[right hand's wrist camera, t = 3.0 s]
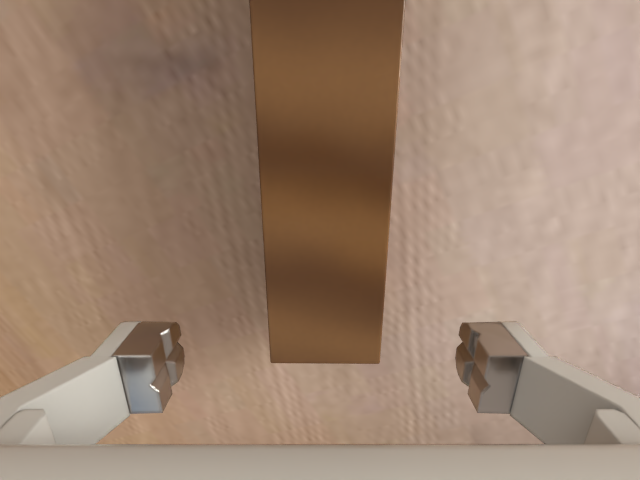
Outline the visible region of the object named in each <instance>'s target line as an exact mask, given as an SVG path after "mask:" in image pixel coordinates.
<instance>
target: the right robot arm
mask: <svg viewBox="0 0 640 480" xmlns="http://www.w3.org/2000/svg"><path fill="white" fill-rule="evenodd" d="M180 336H181V331H180V326H179V324H178V323H177V322H146V321H143V322H141V321H125V322H121V323H120V324H119V325H118V326H117V327H116V329H115V330H114V331H113V332H112V333H111V334H110V335H109V336H108V337H107V338H106V340H105V341H104V342H103V343H102V344H101V345H100V346H99V347H98V348H97V349H96V351H95V352H94V353H93V354H92V355H91V356H90V357H82V358H80V359H78V360H76V361H74V362H72V363H70V364H68V365H66V366H64V367H62V368H60V369H58V370H56V371H54V372H52V373H50V374H47V375H45V376H43V377H41V378H39V379H37V380H35V381H33V382H31V383H29V384H27V385H25V386H23V387H21V388H19V389H17V390H15V391H12V392H10V393H8V394H6V395H4V396H2V397H0V480H640V397H638V396H636V395H633V394H631V393H629V392H627V391H625V390H623V389H621V388H619V387H617V386H615V385H613V384H611V383H609V382H607V381H605V380H603V379H601V378H599V377H597V376H594V375H592V374H590V373H588V372H586V371H584V370H582V369H580V368H578V367H576V366H574V365H572V364H570V363H568V362H566V361H564V360H562V359H560V358H558V357H550V356H549V355H548V354H547V353H546V352H545V351H544V349H543V348H542V347H541V346H540V345H539V344H538V343H537V342H536V341H535V340H534V338H533V337H532V336H531V335H530V334H529V333H528V332H527V331H526V330H525V329H524V327H523V326H522V325H521V324H520V323H518V322H516V321H503V322H470V323H462V324H461V327H460V331H459V336H460V338H461V340H462V341H463V342H462V343H461V344H460V345H459V346H458V347H457V349H456V357H455V359H456V368H457V372H458V375H459V377H460V379H461V381H462V382H463V383H464V384H466V385H467V386H469V389H468V395H469V397H470V399H471V401H472V403H473V405H474V407H475V409H476V411H477V413H502V414H510V416H512V417H513V418H514V419H515V420H516V421H518V422H519V423H520V424H521V425H522V426H524V427H525V428H526V429H527V430H528V431H530V432H531V433H532V434H533V435H535V436H536V437H537V438H538V439H539V440H541V441H542V442H543V443H544V444H96V443H97V442H98V441H100V440H101V439H102V438H103V437H104V436H106V435H107V434H108V433H109V432H110V431H112V430H113V429H114V428H115V427H117V426H118V425H119V424H120V423H121V422H123V421H124V420H125V419H126V418H127V417H129V416H130V414H137V413H163V411H164V409H165V407H166V405H167V403H168V401H169V399H170V397H171V395H172V389H171V386H173V385H174V384H176V383H177V382H178V381H179V379H180V377H181V375H182V372H183V367H184V349H183V347H182V346H181V345H180V344H179V343H178V342H177V341H178V340H179V338H180Z"/></svg>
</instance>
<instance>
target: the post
mask: <svg viewBox="0 0 640 480" xmlns="http://www.w3.org/2000/svg"><path fill="white" fill-rule="evenodd" d="M249 3H250V20H251V37H252V54H253V71H254V88H255V105H256V122H257V139H258V156H259V173H260V190H261V207H262V224H263V241H264V258H265V275H266V292H267V309H268V326H269V343H270V360H271V363H356V364H379V362H380V351H381V337H382V323H383V309H384V295H385V280H386V266H387V252H388V238H389V224H390V210H391V196H392V182H393V168H394V154H395V140H396V126H397V112H398V97H399V83H400V69H401V55H402V41H403V27H404V13H405V0H249Z"/></svg>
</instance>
